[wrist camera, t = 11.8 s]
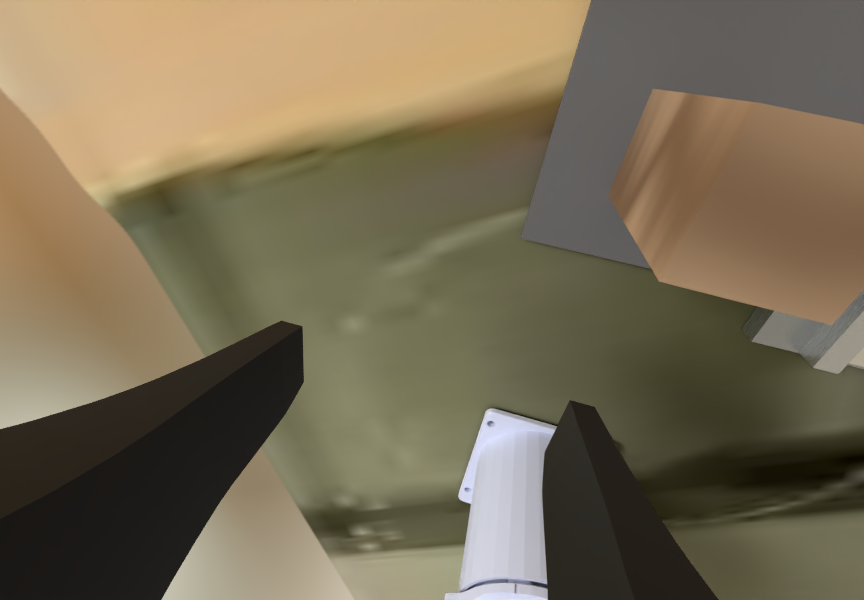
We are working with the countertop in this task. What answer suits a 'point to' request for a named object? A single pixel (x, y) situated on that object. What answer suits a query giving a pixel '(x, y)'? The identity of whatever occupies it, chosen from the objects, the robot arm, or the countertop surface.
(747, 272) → the block
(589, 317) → the countertop surface
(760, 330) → the grey tray
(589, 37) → the rubber mat
